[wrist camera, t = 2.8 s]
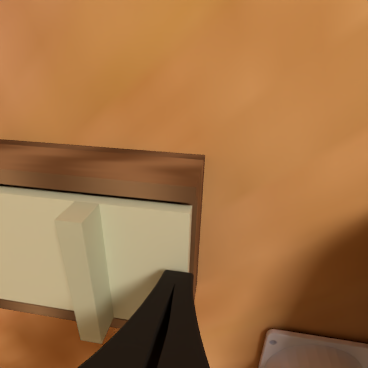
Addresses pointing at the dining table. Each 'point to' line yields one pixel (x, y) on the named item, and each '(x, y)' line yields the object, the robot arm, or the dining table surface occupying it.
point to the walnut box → (104, 186)
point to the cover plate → (88, 252)
